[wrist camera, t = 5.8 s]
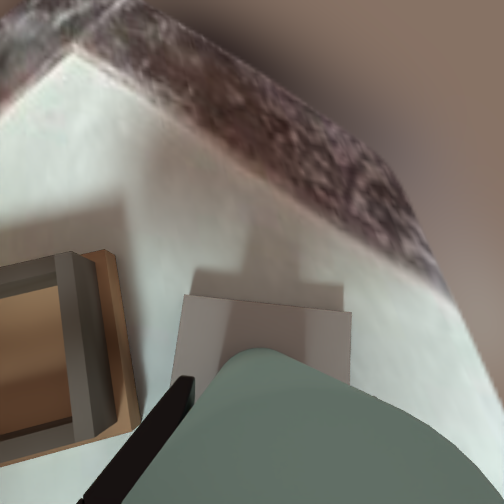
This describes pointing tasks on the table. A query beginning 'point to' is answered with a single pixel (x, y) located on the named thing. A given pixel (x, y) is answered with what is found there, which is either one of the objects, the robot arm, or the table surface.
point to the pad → (258, 336)
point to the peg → (303, 445)
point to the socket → (63, 356)
